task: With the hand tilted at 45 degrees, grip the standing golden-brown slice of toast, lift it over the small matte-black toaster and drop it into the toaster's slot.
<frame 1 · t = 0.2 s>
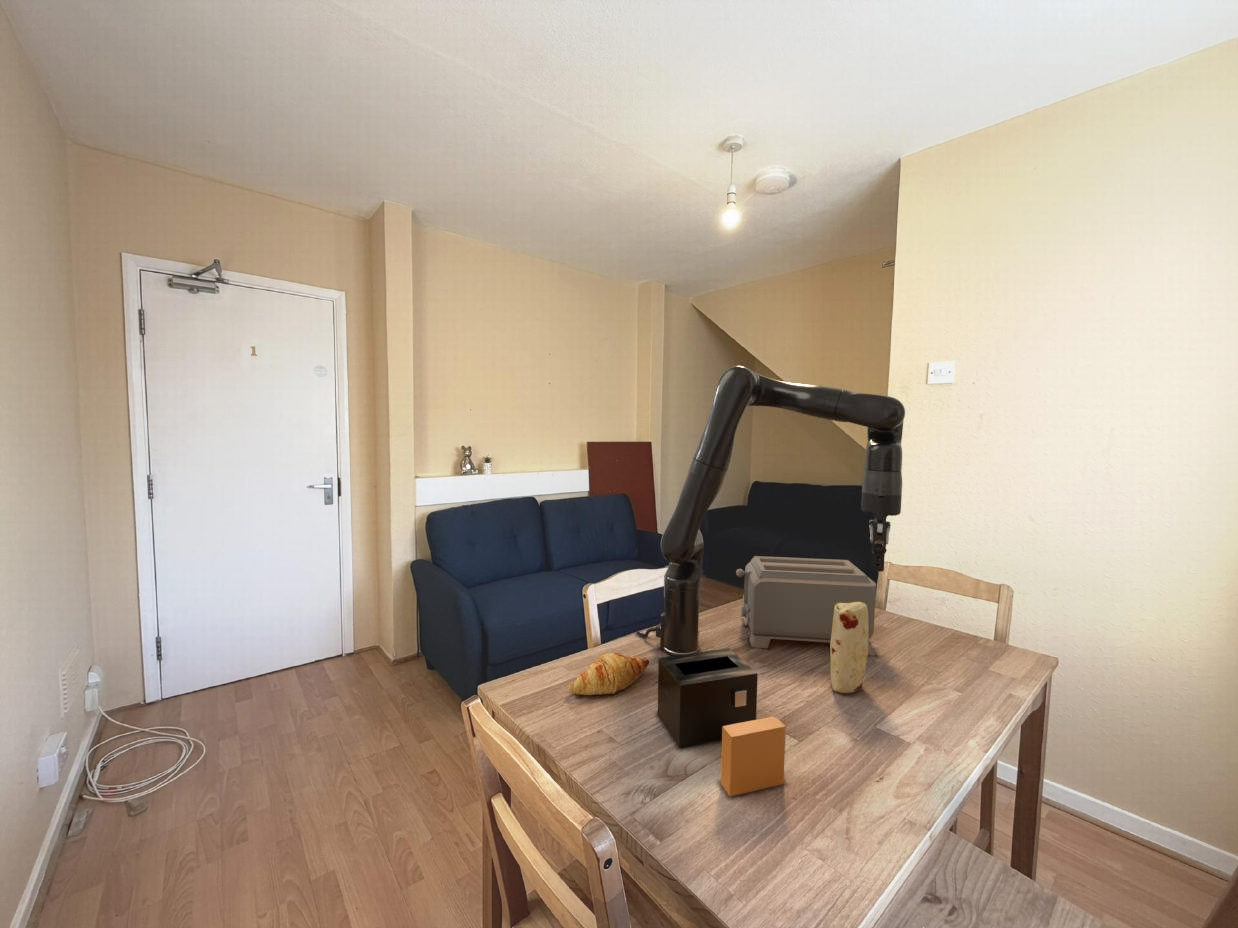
hand: (877, 565, 105), 29 cm above the table, tool pointing down, fingers open, 8 cm apart
croissant: (609, 683, 111), on the table
toaster: (797, 636, 137), on the table
slot toaster: (705, 723, 96), on the table
food model: (846, 689, 110), on the table
toast: (752, 783, 80), on the table
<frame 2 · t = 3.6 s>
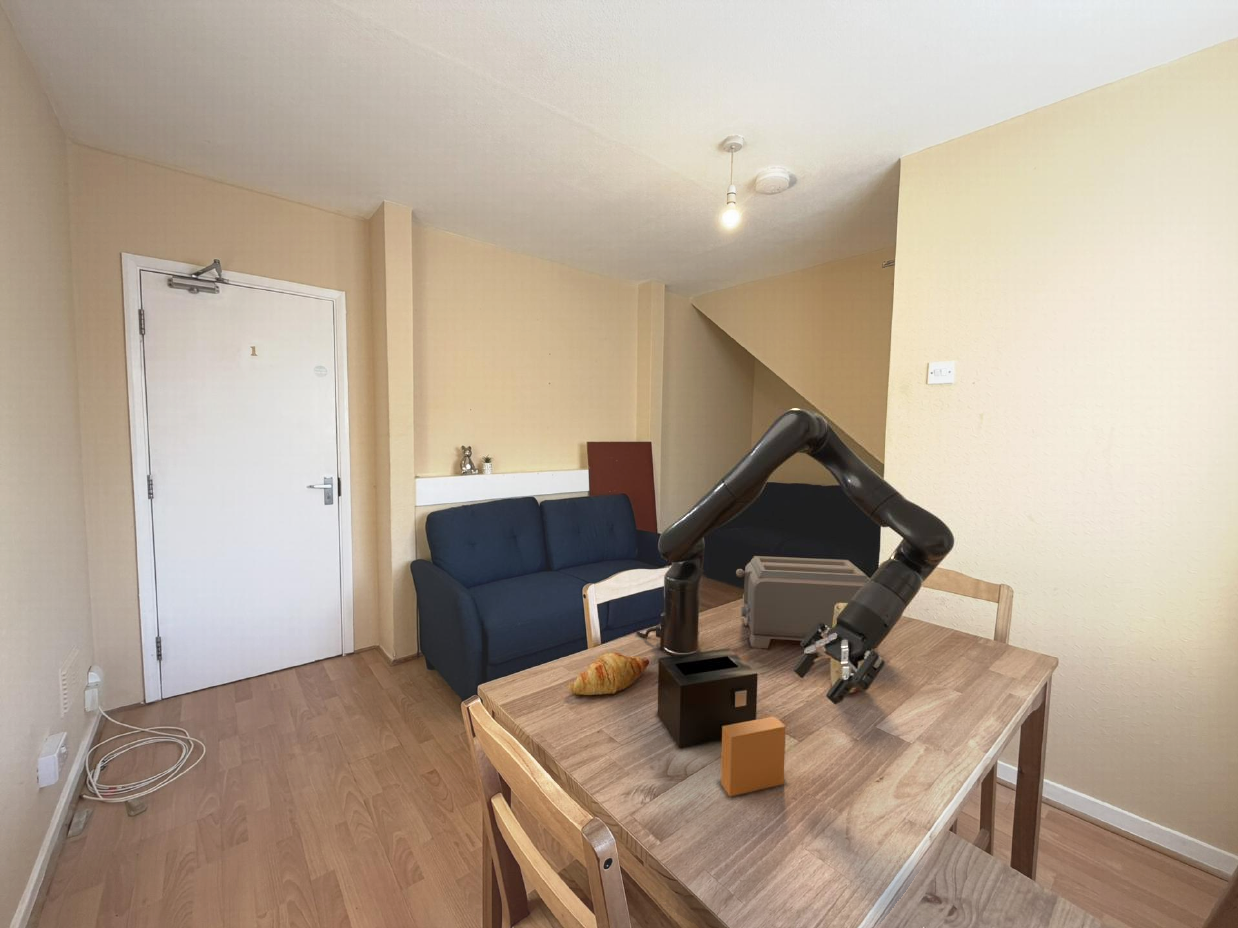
hand: (813, 686, 82), 15 cm above the table, tool tilted 45°, fingers open, 8 cm apart
nothing on the table moved.
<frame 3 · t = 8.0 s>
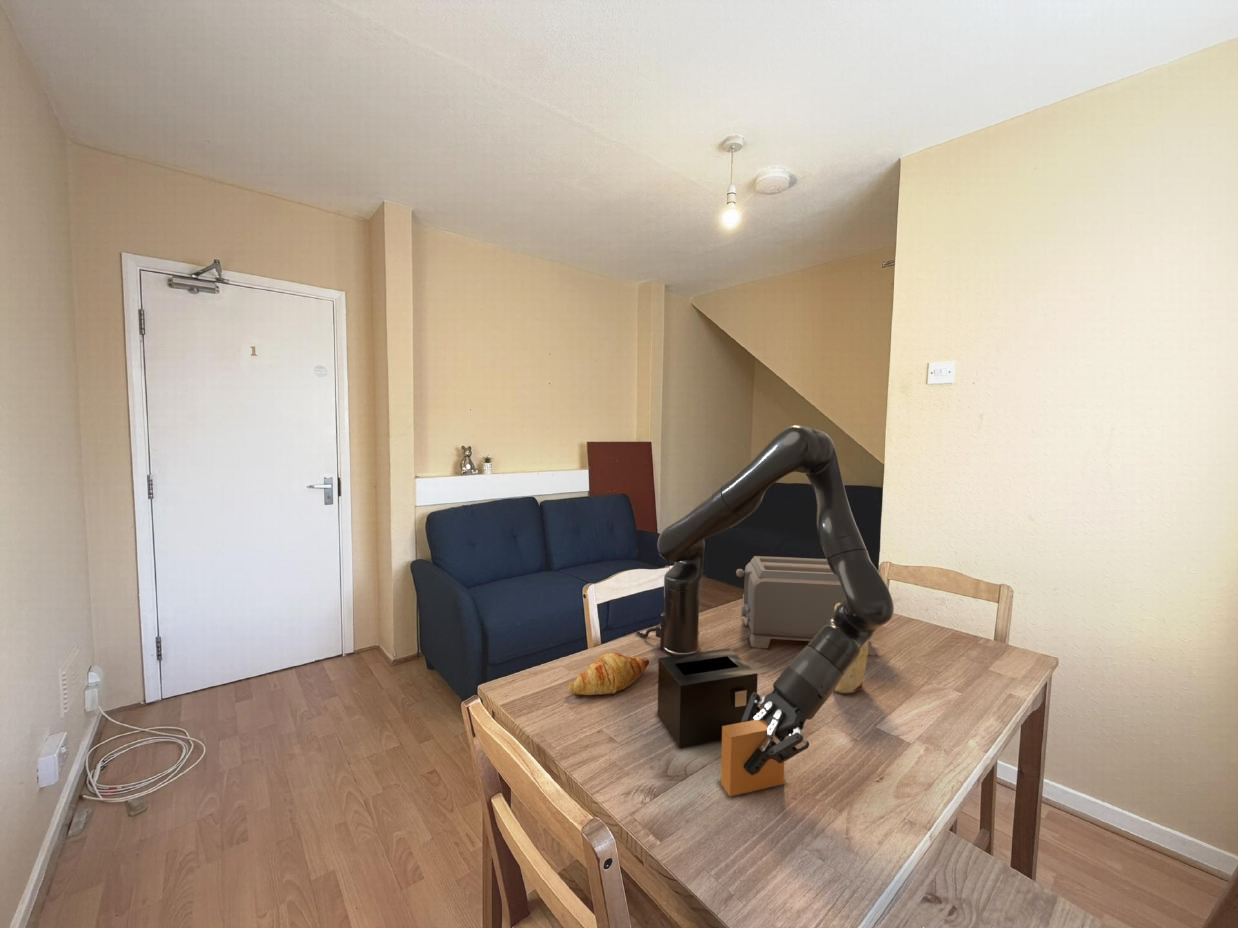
hand: (742, 763, 79), 4 cm above the table, tool tilted 45°, fingers closed on toast, 3 cm apart
toast: (752, 783, 80), on the table, touching gripper
everything else where it was.
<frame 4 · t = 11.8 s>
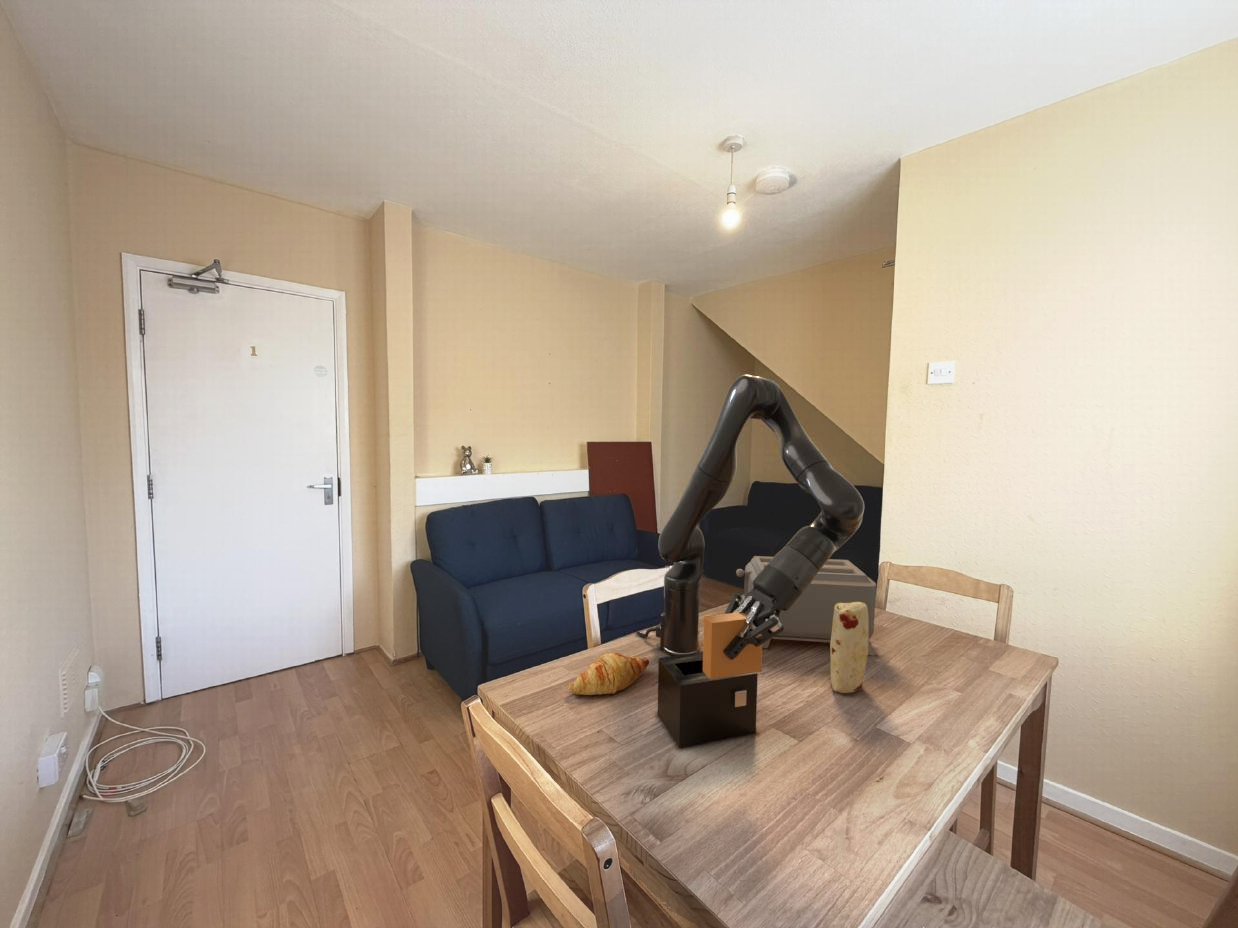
hand: (722, 651, 85), 20 cm above the table, tool tilted 45°, fingers closed on toast, 3 cm apart
toast: (732, 671, 86), point 16 cm above the table, touching gripper
everything else where it was.
when the fingers open (13 cm above the table, at t = 15.8 s): toast drops 2 cm, resting on slot toaster.
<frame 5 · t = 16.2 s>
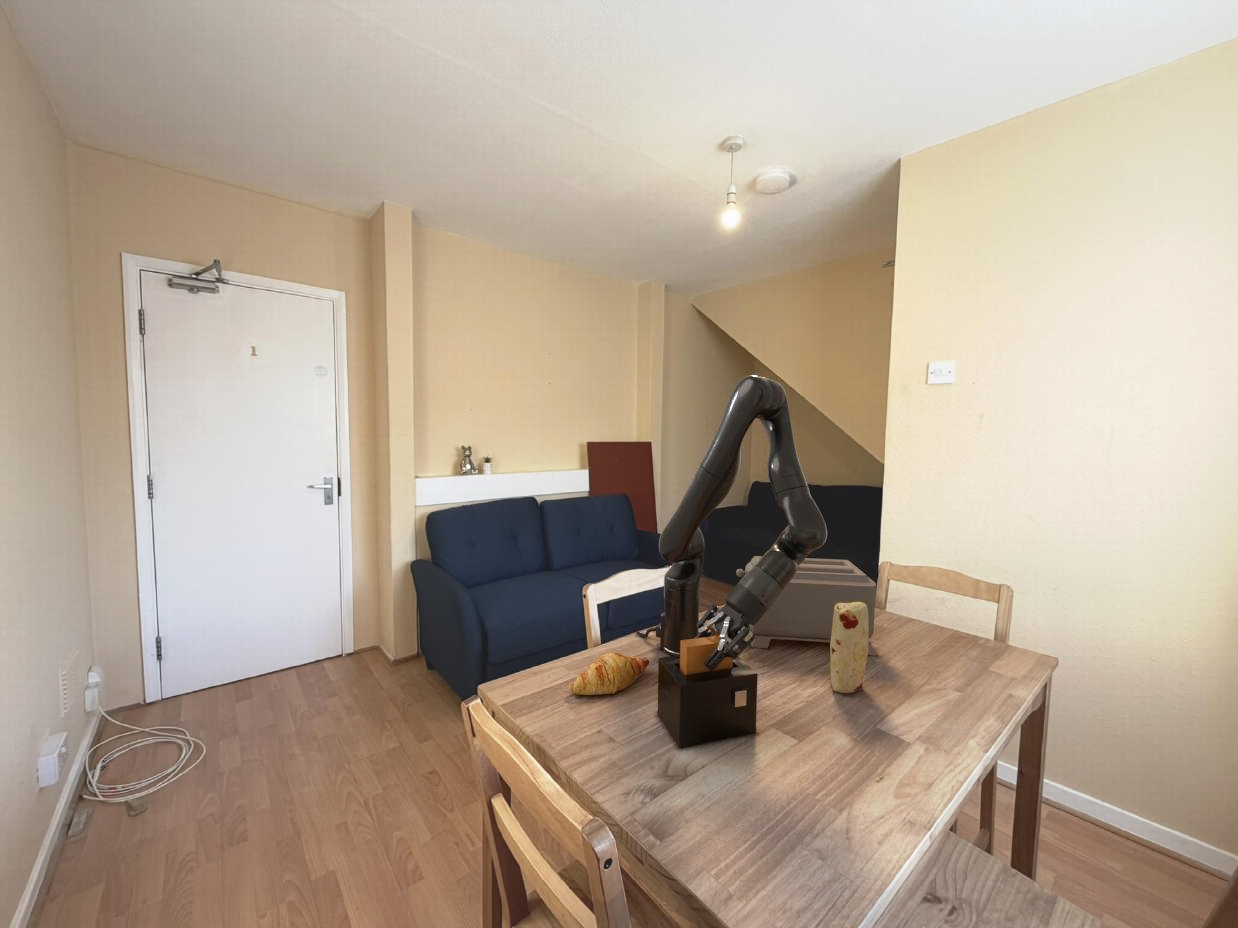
hand: (699, 658, 95), 13 cm above the table, tool tilted 45°, fingers open, 6 cm apart
toast: (705, 689, 96), point 7 cm above the table, touching slot toaster
everything else where it was.
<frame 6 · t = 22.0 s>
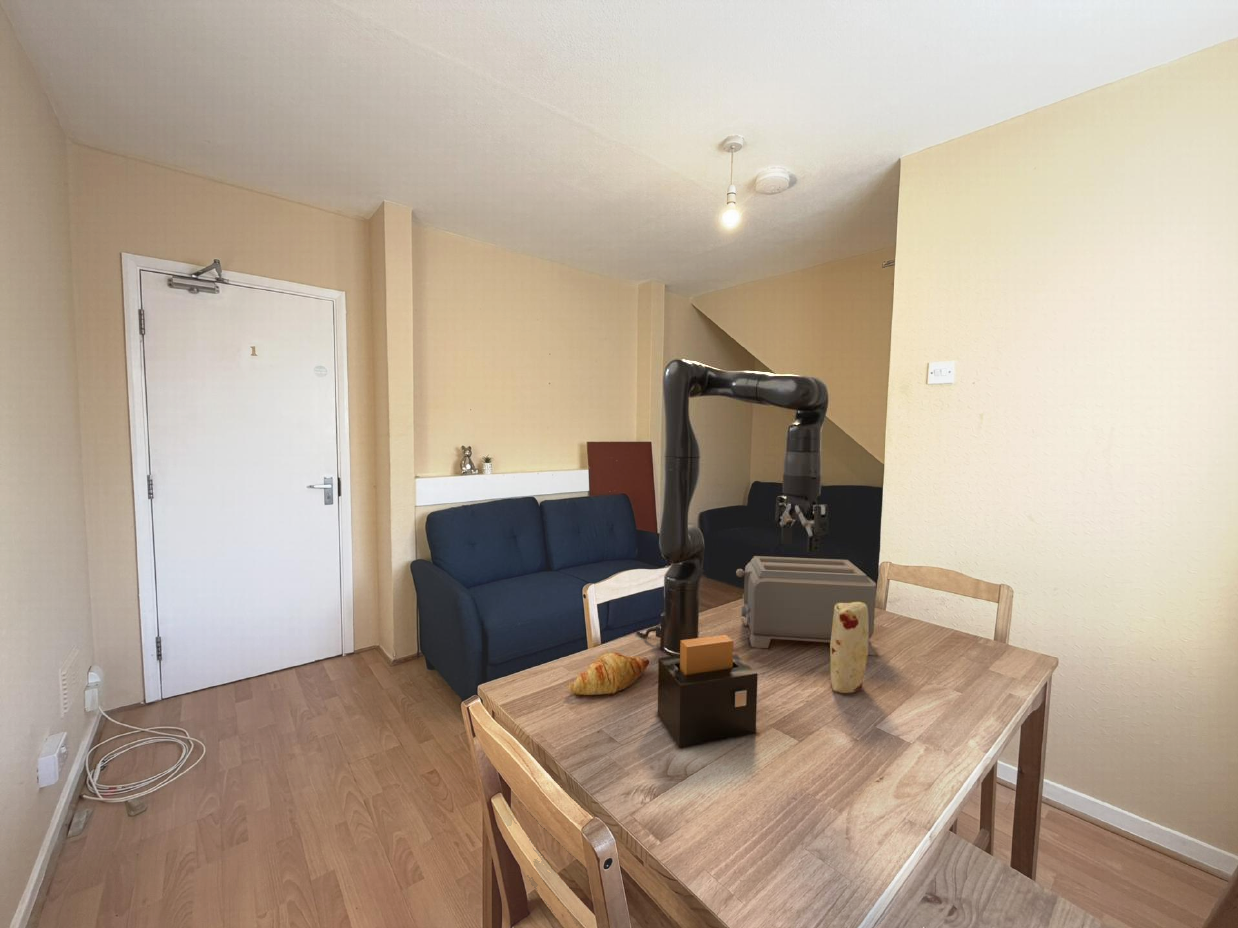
hand: (799, 548, 103), 33 cm above the table, tool pointing down, fingers open, 8 cm apart
nothing on the table moved.
at the end: toast 0.0 cm off-centre on the slot toaster, point 7.0 cm above the slot toaster's base; toast tilted 0°; the gripper is holding nothing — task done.
